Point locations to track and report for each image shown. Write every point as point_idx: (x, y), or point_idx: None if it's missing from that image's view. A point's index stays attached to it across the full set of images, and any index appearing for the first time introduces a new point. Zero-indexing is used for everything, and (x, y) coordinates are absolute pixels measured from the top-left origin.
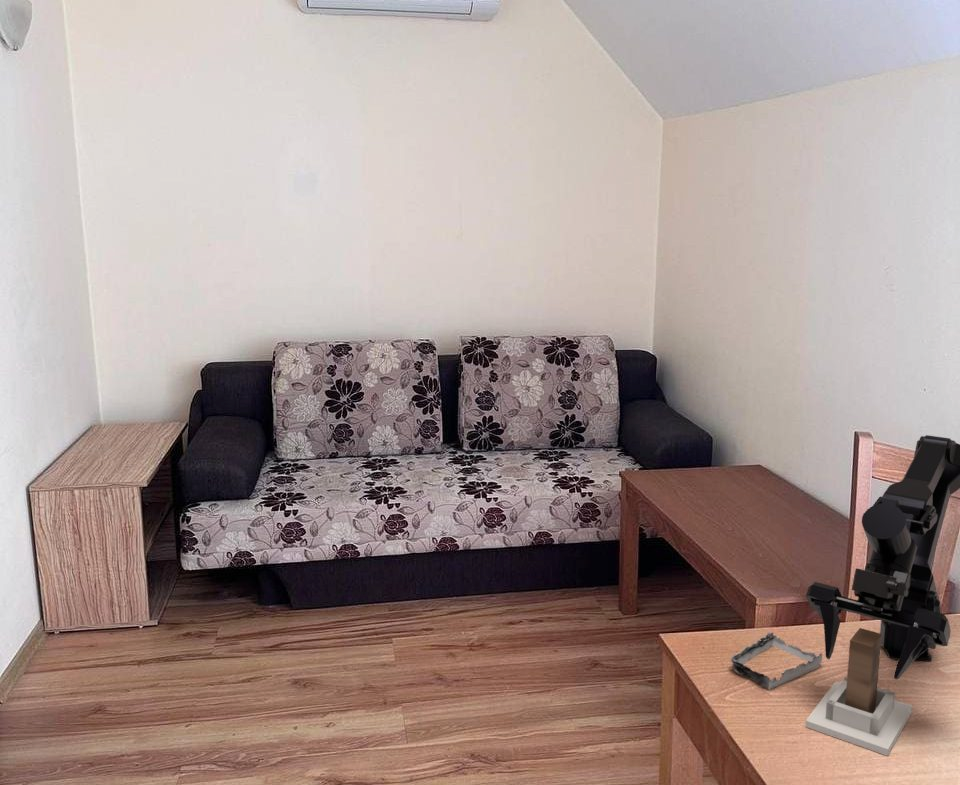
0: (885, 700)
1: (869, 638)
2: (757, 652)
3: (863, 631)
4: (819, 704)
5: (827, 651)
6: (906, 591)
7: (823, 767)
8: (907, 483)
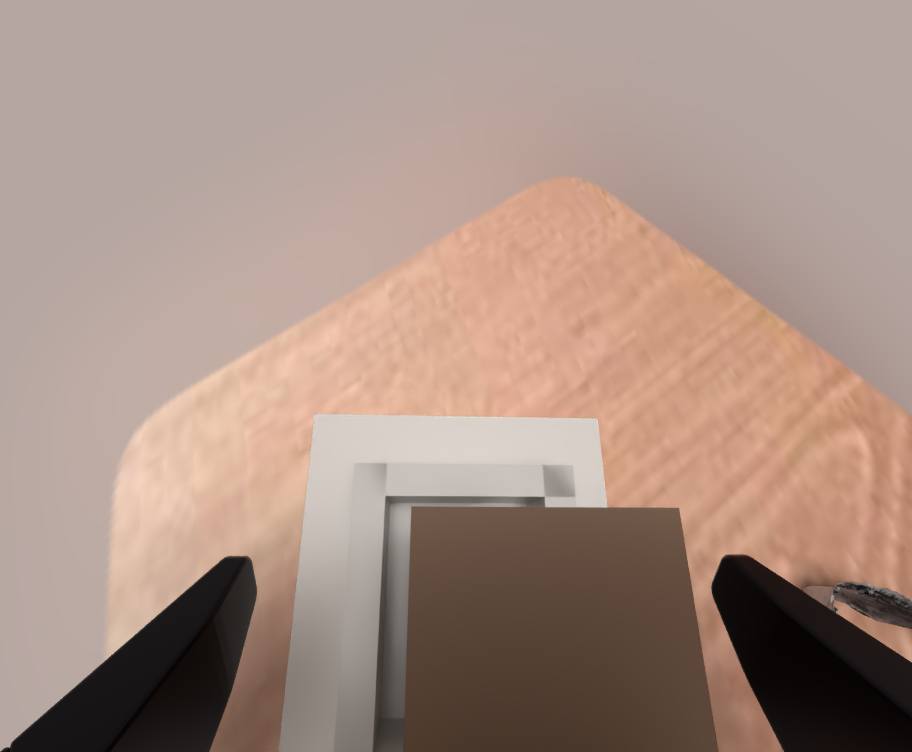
0: (360, 666)
1: (510, 742)
2: None
3: None
4: None
5: (766, 574)
6: None
7: (467, 264)
8: None
